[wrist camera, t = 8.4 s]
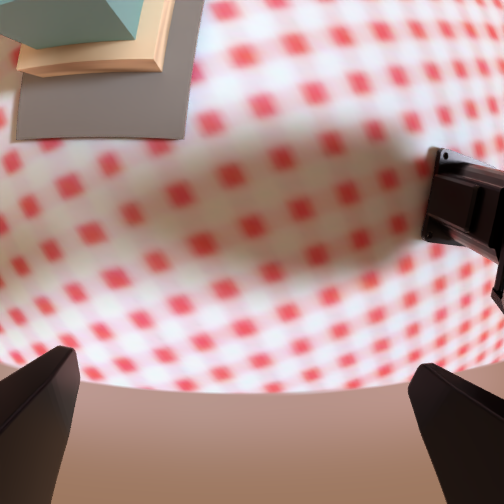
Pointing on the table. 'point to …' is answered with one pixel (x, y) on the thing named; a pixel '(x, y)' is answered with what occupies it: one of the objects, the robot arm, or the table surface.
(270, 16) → the table surface
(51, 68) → the maple base block
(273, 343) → the table surface
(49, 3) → the teal block
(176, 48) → the baseplate
